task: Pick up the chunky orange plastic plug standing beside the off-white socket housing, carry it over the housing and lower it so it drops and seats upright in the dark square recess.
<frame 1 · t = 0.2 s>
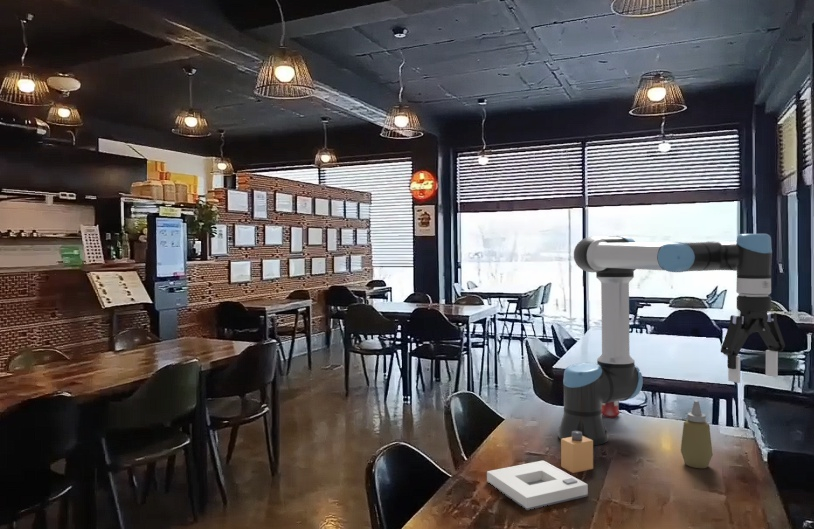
hand: (753, 378, 149), 28 cm above the table, fingers open, 13 cm apart
socket: (535, 489, 151), on the table
squeeze bottle: (696, 465, 165), on the table
liquor: (609, 416, 213), on the table
plug: (577, 467, 165), on the table
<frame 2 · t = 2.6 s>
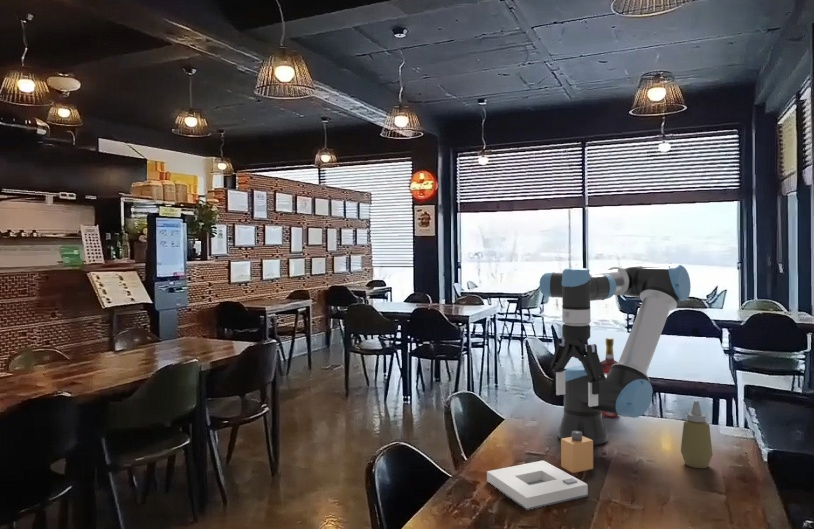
hand: (576, 400, 164), 19 cm above the table, fingers open, 13 cm apart
nothing on the table moved.
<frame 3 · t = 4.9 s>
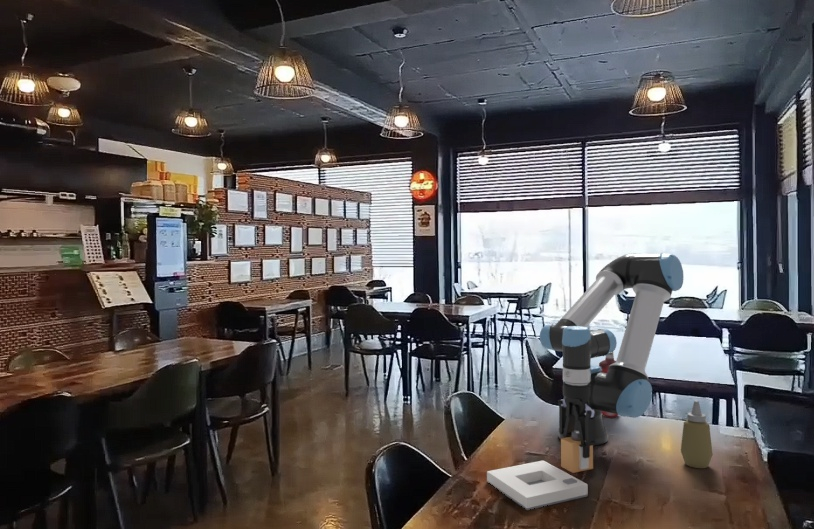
hand: (577, 464, 165), 1 cm above the table, fingers closed on plug, 5 cm apart
plug: (577, 467, 165), on the table, touching gripper
everything else where it was.
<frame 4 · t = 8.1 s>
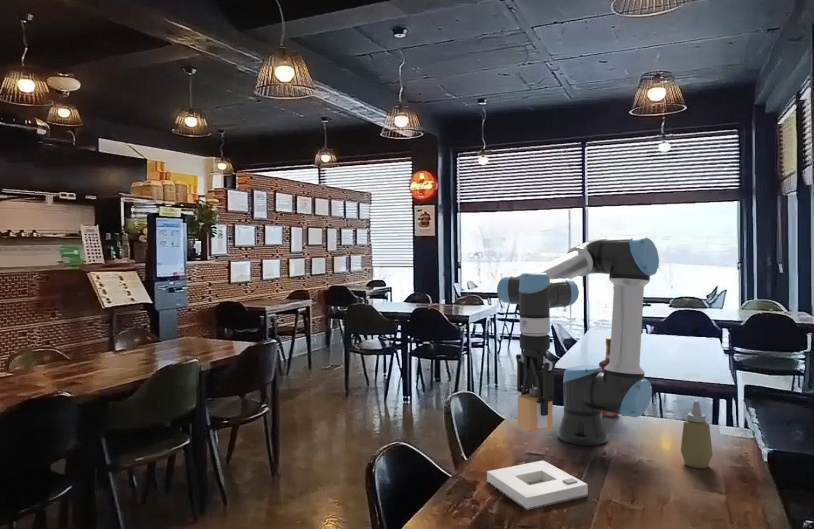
hand: (535, 424, 150), 17 cm above the table, fingers closed on plug, 5 cm apart
plug: (535, 427, 150), point 16 cm above the table, touching gripper
everything else where it was.
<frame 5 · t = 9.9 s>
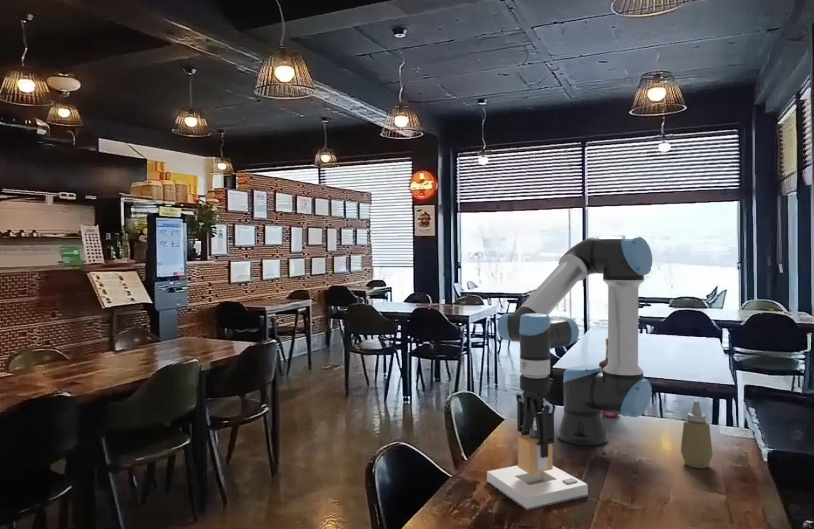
hand: (535, 465, 150), 6 cm above the table, fingers closed on plug, 5 cm apart
plug: (535, 468, 150), point 5 cm above the table, touching gripper
everything else where it was.
when the fingers open (4 cm above the table, at t = 11.4 s): plug drops 3 cm, resting on socket.
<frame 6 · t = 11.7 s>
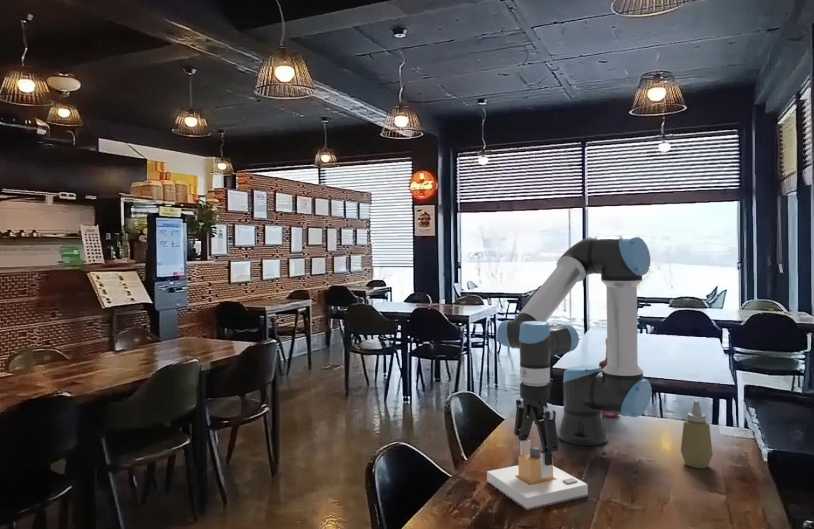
hand: (535, 470, 151), 5 cm above the table, fingers open, 8 cm apart
plug: (535, 487, 151), resting on socket
everything else where it was.
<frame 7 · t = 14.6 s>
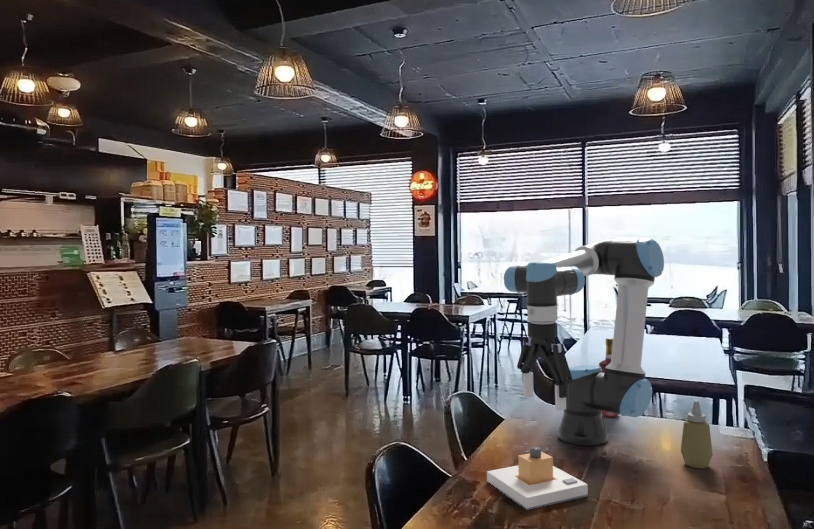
hand: (544, 403, 152), 21 cm above the table, fingers open, 13 cm apart
nothing on the table moved.
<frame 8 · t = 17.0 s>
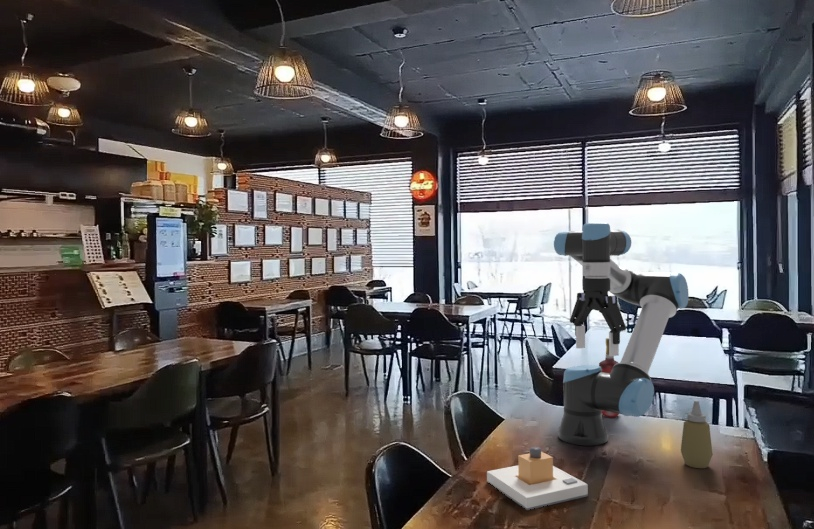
hand: (596, 351, 168), 32 cm above the table, fingers open, 13 cm apart
nothing on the table moved.
at the end: plug 0.0 cm off-centre on the socket, point 0.5 cm above the socket's base; plug tilted 0°; the gripper is holding nothing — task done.
